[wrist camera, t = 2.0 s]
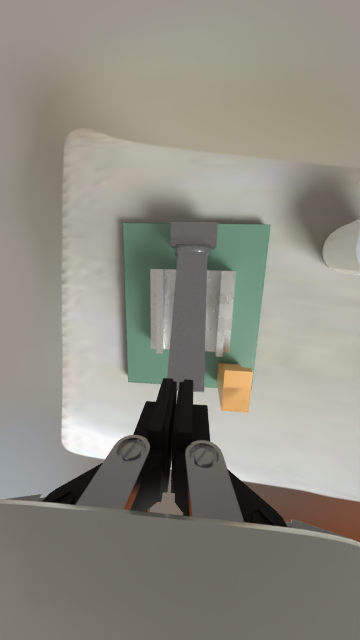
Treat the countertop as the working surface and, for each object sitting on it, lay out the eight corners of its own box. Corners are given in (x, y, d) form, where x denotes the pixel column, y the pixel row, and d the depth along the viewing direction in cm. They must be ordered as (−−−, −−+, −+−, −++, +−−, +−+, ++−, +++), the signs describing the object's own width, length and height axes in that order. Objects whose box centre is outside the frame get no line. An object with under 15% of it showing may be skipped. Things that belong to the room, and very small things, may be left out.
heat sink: (236, 228, 26) (242, 221, 22) (226, 345, 29) (231, 357, 26) (154, 227, 27) (147, 220, 23) (154, 342, 30) (148, 352, 26)
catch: (241, 350, 29) (252, 371, 23) (238, 384, 30) (248, 412, 24) (219, 349, 29) (224, 370, 23) (216, 382, 30) (221, 410, 24)
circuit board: (266, 227, 27) (270, 224, 26) (249, 384, 32) (251, 390, 31) (126, 225, 28) (122, 222, 27) (131, 377, 33) (128, 382, 32)
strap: (176, 249, 23) (175, 241, 22) (209, 250, 23) (210, 242, 22) (163, 389, 18) (162, 388, 17) (207, 392, 18) (207, 391, 17)
